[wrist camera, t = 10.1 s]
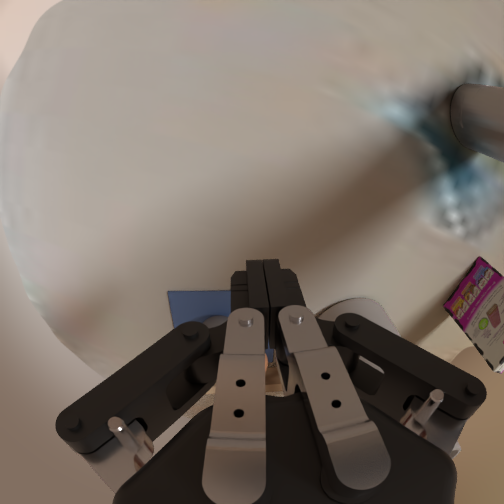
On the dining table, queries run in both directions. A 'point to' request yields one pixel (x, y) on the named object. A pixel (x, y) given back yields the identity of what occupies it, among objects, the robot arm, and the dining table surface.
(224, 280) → the dining table surface
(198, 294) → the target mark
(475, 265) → the candy bar box
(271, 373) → the stopper
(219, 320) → the grey ball
